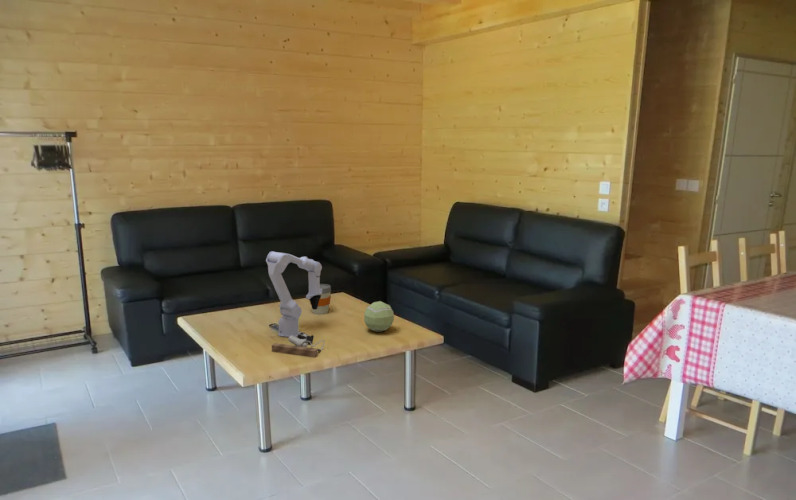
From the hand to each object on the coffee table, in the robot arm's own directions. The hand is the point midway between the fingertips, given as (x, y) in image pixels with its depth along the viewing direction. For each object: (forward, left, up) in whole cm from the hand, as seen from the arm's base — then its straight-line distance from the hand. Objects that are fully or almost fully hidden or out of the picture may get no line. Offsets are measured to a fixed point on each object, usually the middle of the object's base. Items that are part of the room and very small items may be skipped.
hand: (314, 309), depth 301 cm
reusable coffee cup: (-9, +24, -10) cm, 27 cm away
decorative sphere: (+34, +5, -10) cm, 36 cm away
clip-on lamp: (+11, -29, -10) cm, 33 cm away
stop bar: (+9, -38, -9) cm, 40 cm away
